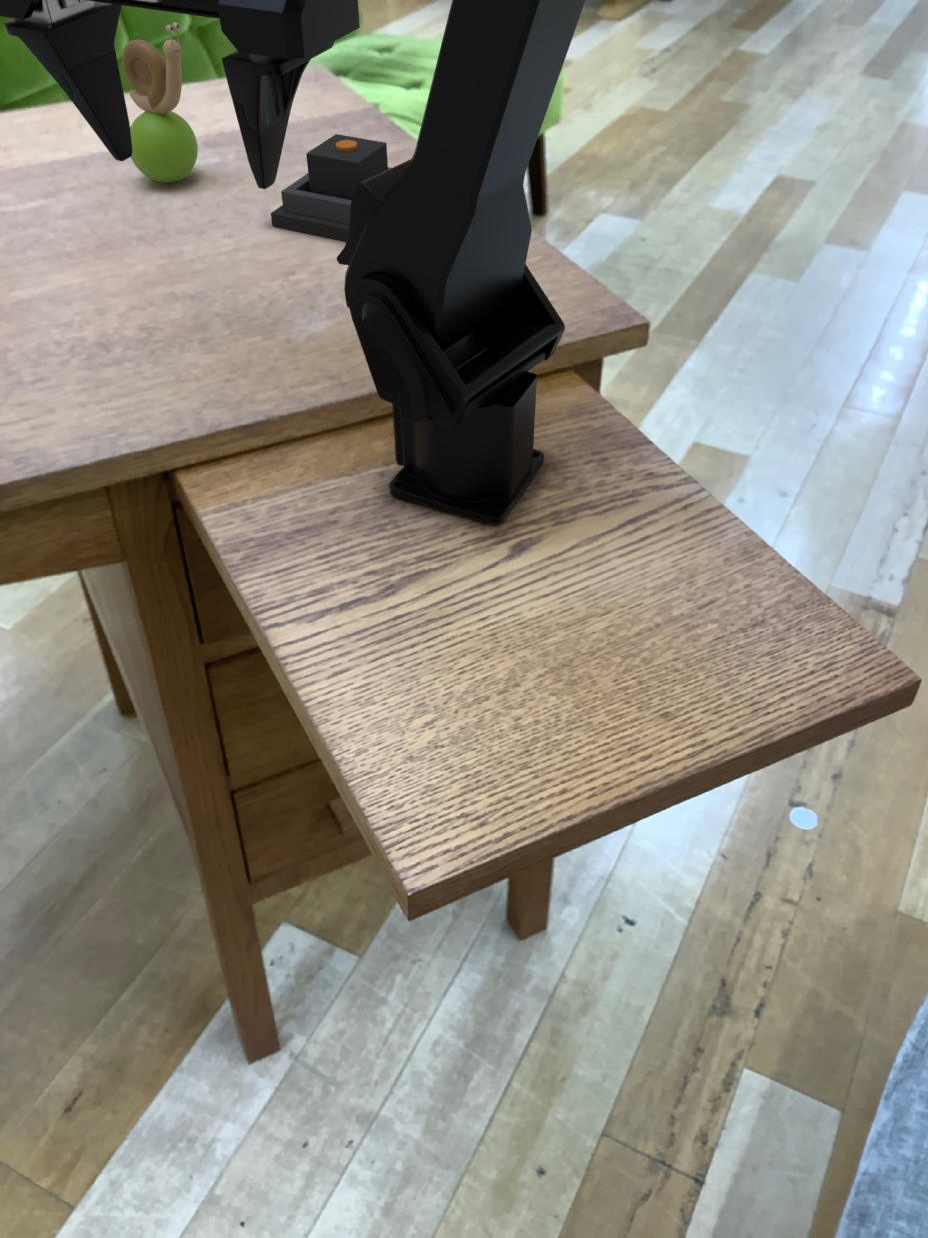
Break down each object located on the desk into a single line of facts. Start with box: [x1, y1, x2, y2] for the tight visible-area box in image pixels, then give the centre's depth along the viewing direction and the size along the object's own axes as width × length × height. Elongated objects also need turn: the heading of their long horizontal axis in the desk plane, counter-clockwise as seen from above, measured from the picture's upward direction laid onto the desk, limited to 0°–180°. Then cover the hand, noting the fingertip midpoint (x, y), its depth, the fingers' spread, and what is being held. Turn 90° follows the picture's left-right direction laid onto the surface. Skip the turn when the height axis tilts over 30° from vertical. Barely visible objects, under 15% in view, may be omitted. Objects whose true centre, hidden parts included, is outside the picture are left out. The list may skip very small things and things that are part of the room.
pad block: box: [305, 133, 389, 200], centre depth 78 cm, size 4×4×4 cm
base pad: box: [270, 166, 392, 242], centre depth 80 cm, size 9×9×2 cm
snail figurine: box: [121, 21, 199, 184], centre depth 81 cm, size 5×6×12 cm
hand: (194, 171), depth 56 cm, fingers open, 9 cm apart
